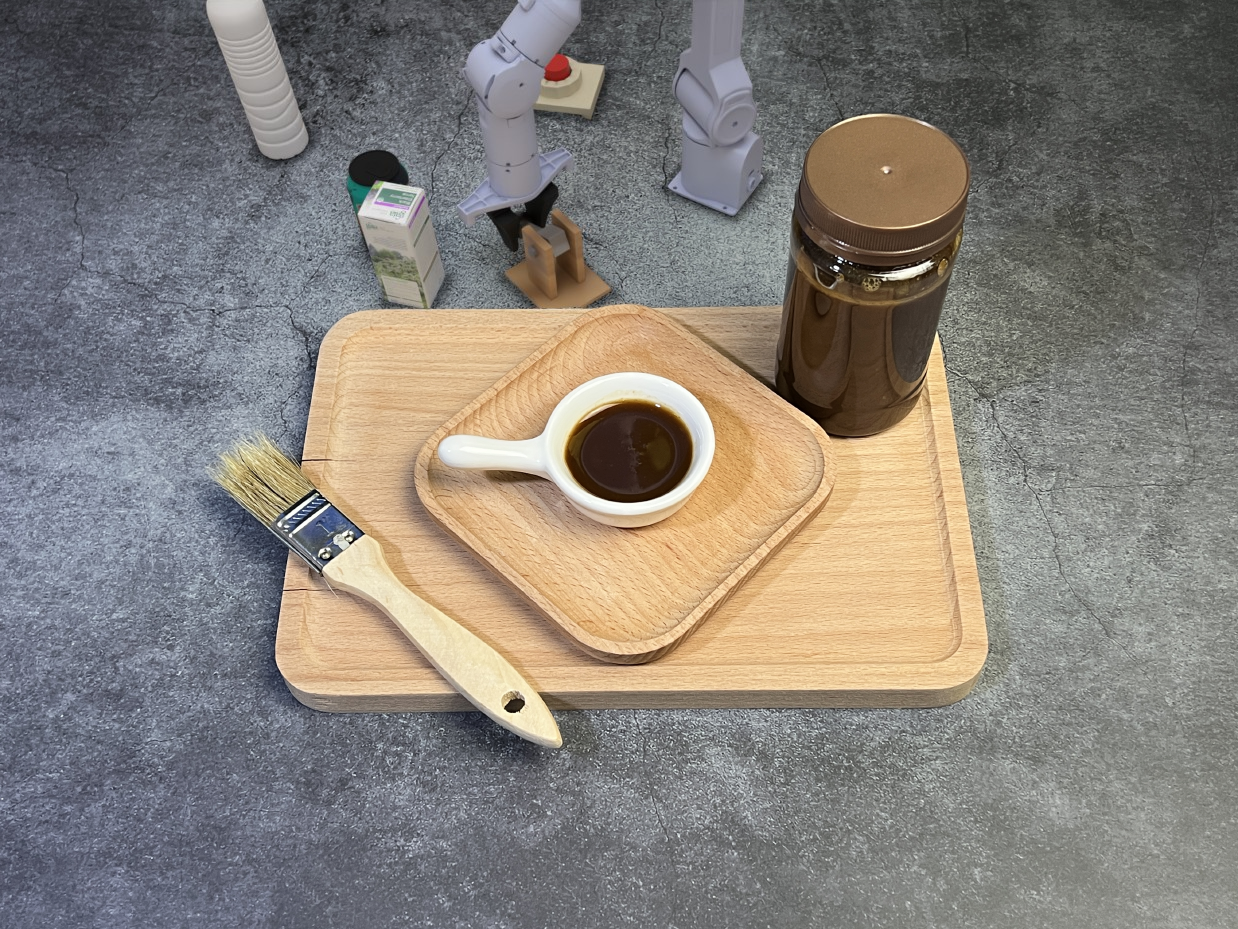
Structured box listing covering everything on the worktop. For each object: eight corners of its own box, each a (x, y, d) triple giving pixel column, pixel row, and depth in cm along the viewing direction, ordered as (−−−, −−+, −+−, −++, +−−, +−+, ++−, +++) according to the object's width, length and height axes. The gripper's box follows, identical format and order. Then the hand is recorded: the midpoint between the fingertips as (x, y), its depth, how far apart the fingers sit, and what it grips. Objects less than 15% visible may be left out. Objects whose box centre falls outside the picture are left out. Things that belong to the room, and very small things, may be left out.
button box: (604, 75, 149) (603, 53, 146) (590, 119, 145) (589, 97, 142) (526, 67, 151) (523, 45, 148) (509, 110, 146) (506, 88, 143)
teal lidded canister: (389, 214, 136) (368, 137, 126) (435, 234, 134) (417, 158, 124) (354, 251, 133) (329, 175, 123) (400, 272, 131) (379, 196, 121)
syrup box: (447, 277, 130) (425, 184, 118) (429, 314, 127) (405, 223, 115) (402, 269, 131) (376, 175, 119) (384, 305, 128) (355, 213, 116)
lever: (507, 239, 129) (498, 215, 127) (529, 226, 130) (520, 202, 128) (552, 263, 122) (543, 238, 120) (574, 249, 123) (567, 224, 121)
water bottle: (296, 164, 141) (233, -13, 120) (250, 156, 143) (180, -21, 122) (324, 120, 146) (268, -58, 125) (279, 112, 147) (216, -65, 126)
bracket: (505, 278, 130) (495, 220, 122) (559, 246, 132) (553, 188, 124) (556, 328, 125) (549, 272, 117) (611, 294, 128) (608, 237, 120)
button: (572, 66, 146) (571, 55, 144) (566, 83, 144) (565, 72, 142) (546, 63, 146) (544, 52, 145) (539, 80, 144) (538, 69, 143)
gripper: (543, 100, 122) (553, 192, 133) (434, 158, 117) (453, 249, 129) (582, 133, 119) (588, 224, 130) (471, 194, 114) (488, 283, 125)
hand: (524, 239), depth 129 cm, fingers closed on lever, 3 cm apart
